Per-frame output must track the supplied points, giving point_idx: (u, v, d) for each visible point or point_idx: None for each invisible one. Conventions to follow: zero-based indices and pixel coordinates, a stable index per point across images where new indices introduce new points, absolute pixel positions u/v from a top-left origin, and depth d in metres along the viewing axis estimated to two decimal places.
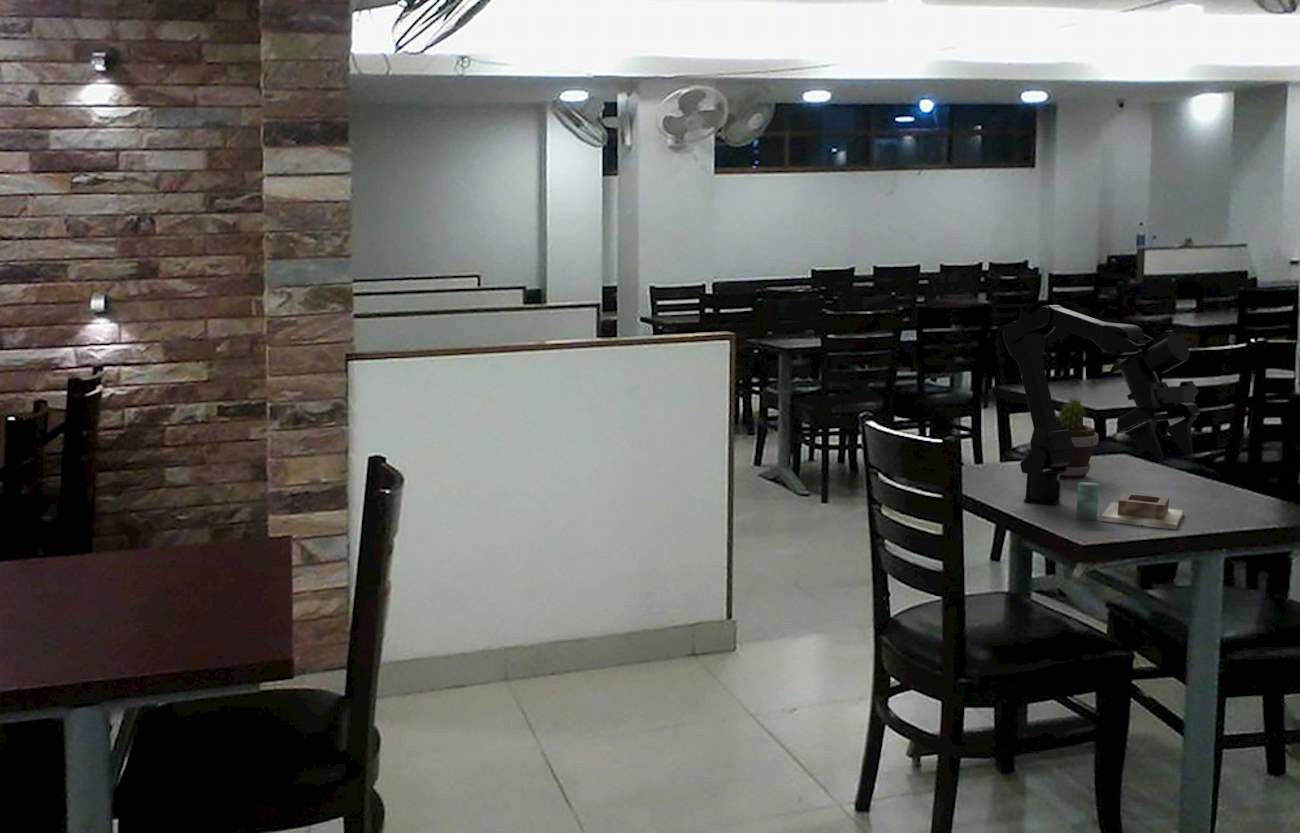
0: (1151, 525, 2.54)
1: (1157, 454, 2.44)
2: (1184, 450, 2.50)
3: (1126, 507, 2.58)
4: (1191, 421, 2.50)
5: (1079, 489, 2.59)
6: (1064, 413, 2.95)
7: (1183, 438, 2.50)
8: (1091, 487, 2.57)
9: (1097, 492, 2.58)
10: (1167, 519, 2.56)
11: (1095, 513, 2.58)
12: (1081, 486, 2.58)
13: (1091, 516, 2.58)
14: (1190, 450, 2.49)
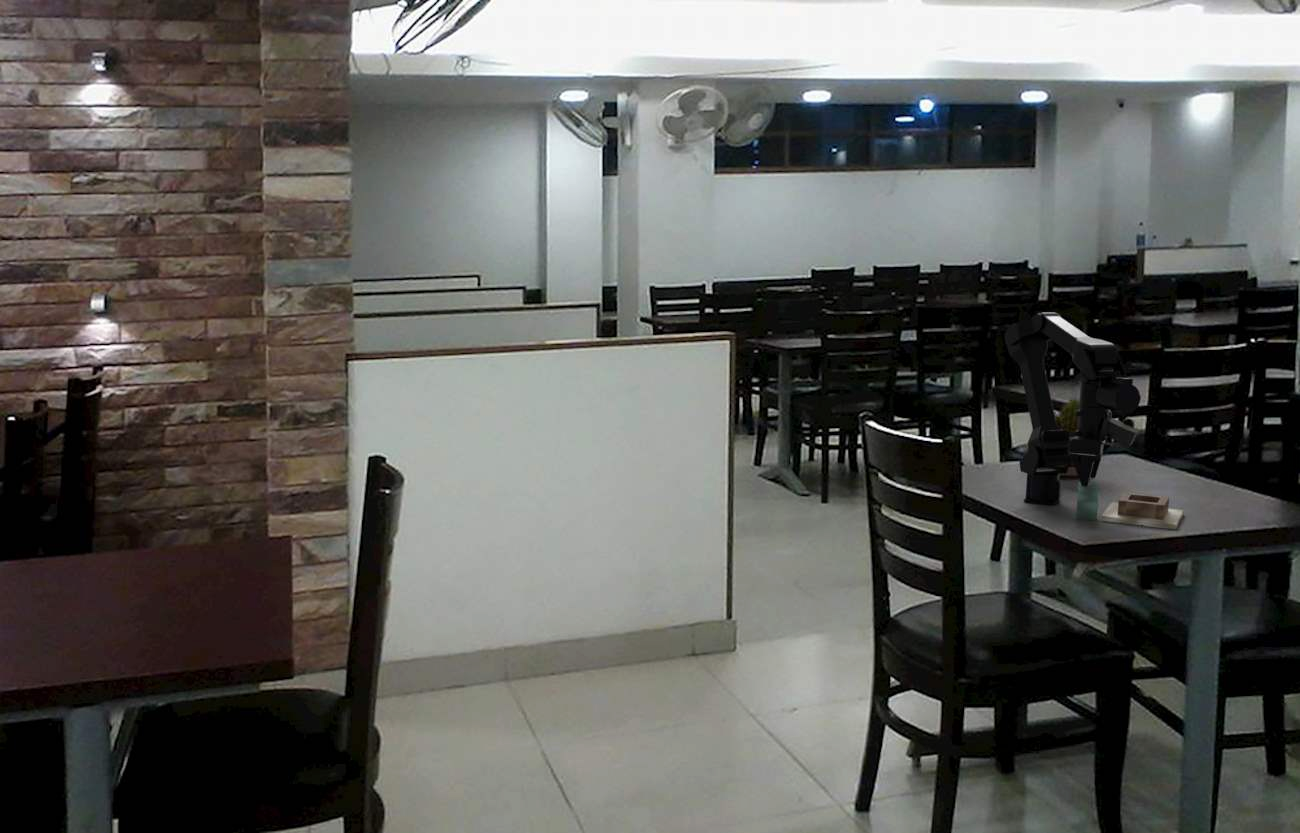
0: (1151, 525, 2.54)
1: (1084, 481, 2.55)
2: None
3: (1126, 507, 2.58)
4: None
5: (1079, 489, 2.59)
6: (1064, 413, 2.95)
7: (1093, 461, 2.63)
8: (1091, 487, 2.57)
9: (1097, 492, 2.58)
10: (1167, 519, 2.56)
11: (1095, 513, 2.58)
12: (1081, 486, 2.58)
13: (1091, 516, 2.58)
14: (1095, 474, 2.63)
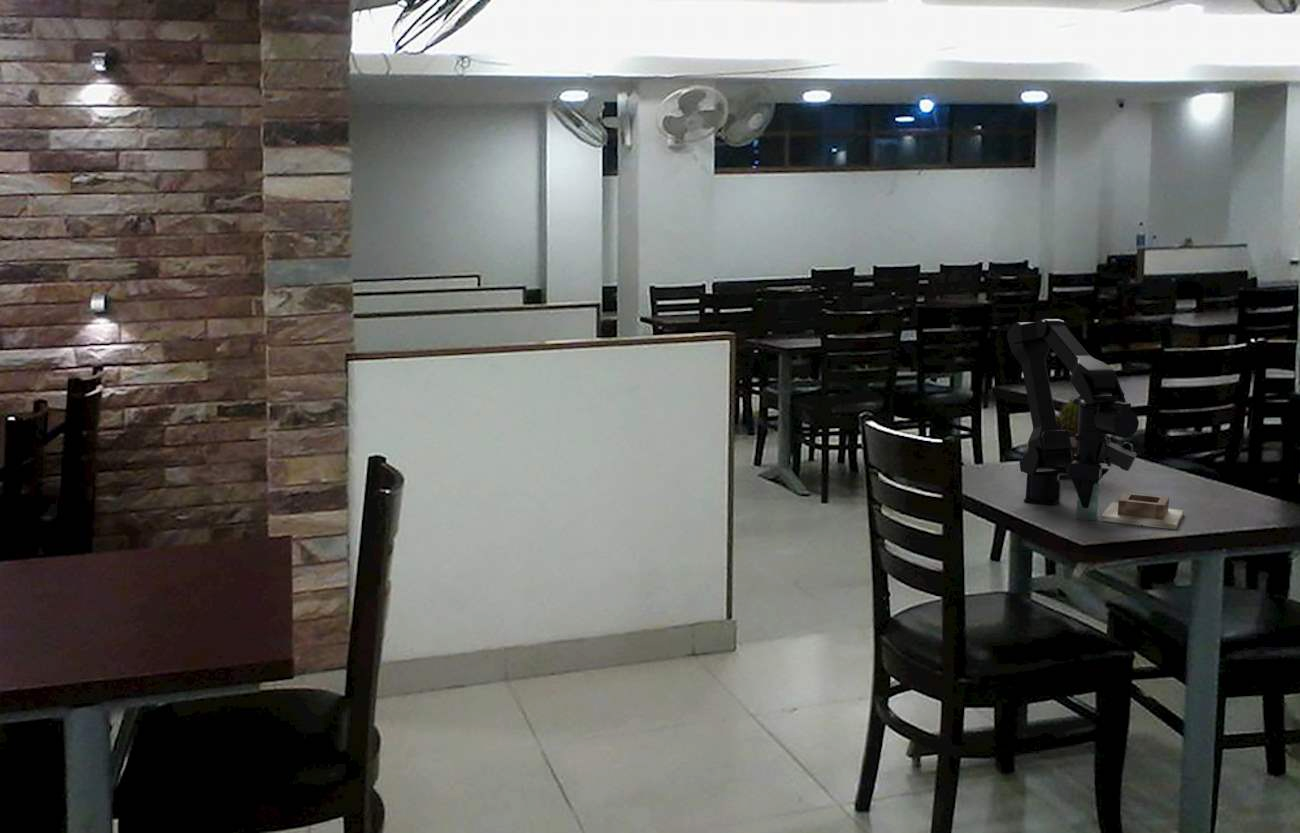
0: (1151, 525, 2.54)
1: (1085, 502, 2.57)
2: None
3: (1126, 507, 2.58)
4: None
5: None
6: (1064, 413, 2.95)
7: None
8: None
9: (1097, 492, 2.58)
10: (1167, 519, 2.56)
11: (1095, 513, 2.58)
12: None
13: (1091, 516, 2.58)
14: None
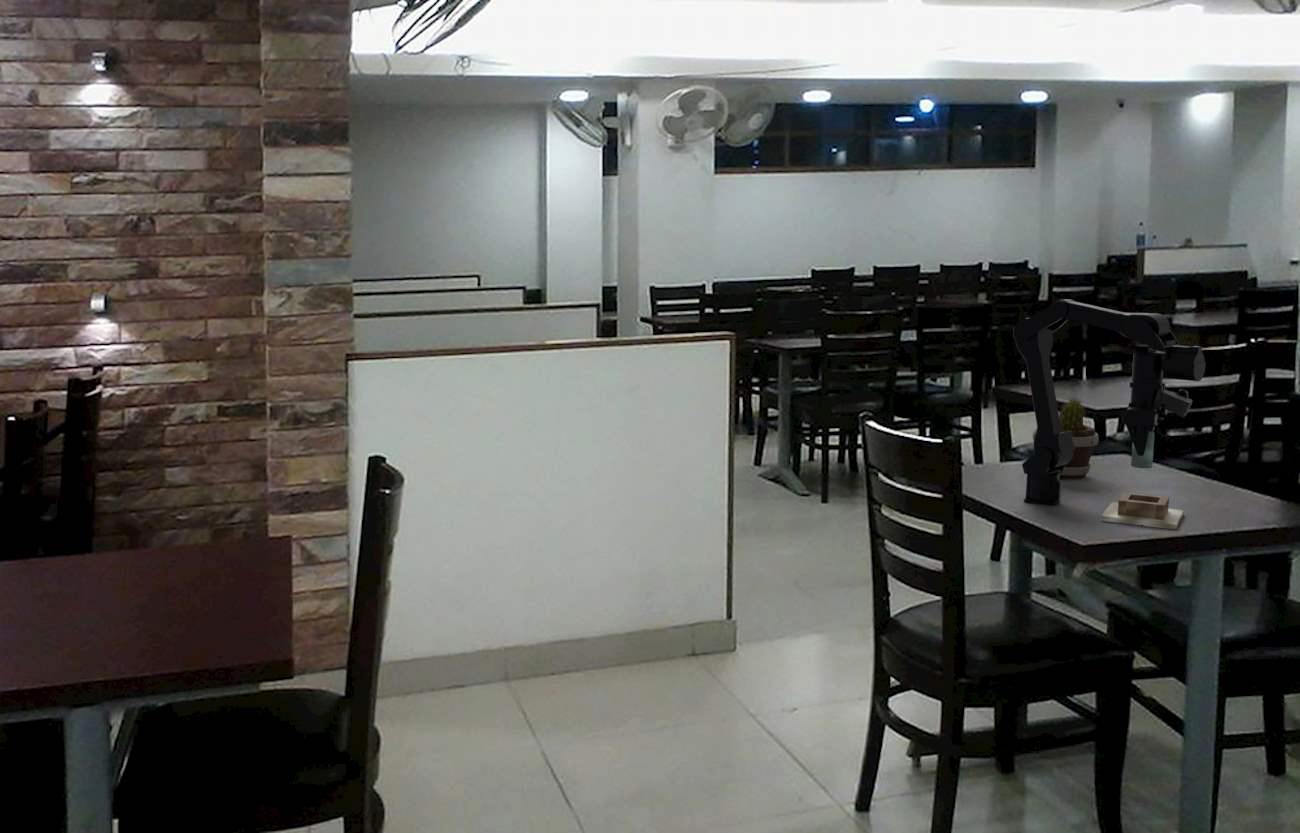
0: (1151, 525, 2.54)
1: (1140, 450, 2.56)
2: None
3: (1126, 507, 2.58)
4: None
5: None
6: (1064, 413, 2.95)
7: None
8: None
9: (1152, 440, 2.56)
10: (1167, 519, 2.56)
11: (1150, 461, 2.57)
12: None
13: (1146, 464, 2.57)
14: None
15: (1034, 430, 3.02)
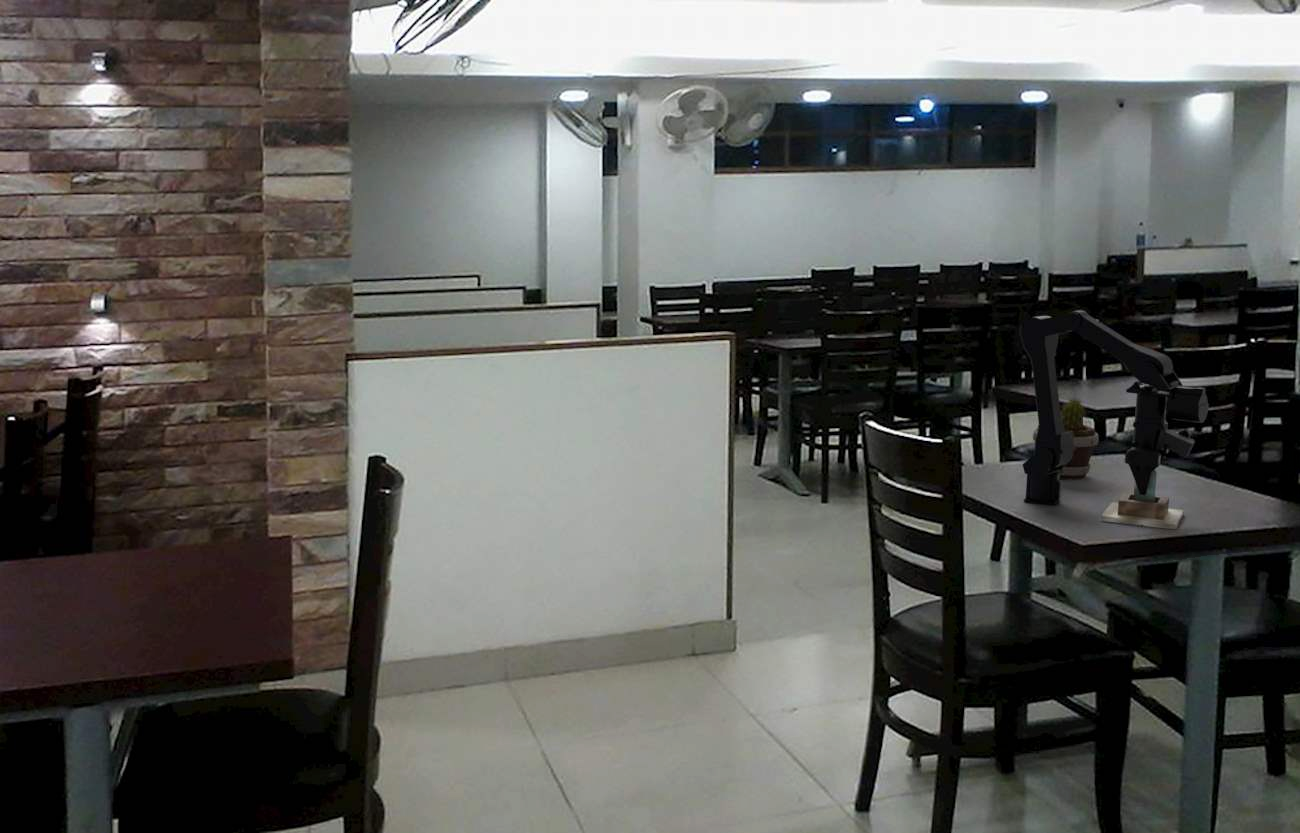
0: (1151, 525, 2.54)
1: (1143, 489, 2.58)
2: None
3: (1126, 507, 2.58)
4: None
5: None
6: (1064, 413, 2.95)
7: None
8: None
9: (1155, 479, 2.58)
10: (1167, 519, 2.56)
11: (1152, 500, 2.59)
12: None
13: None
14: None
15: (1034, 430, 3.02)
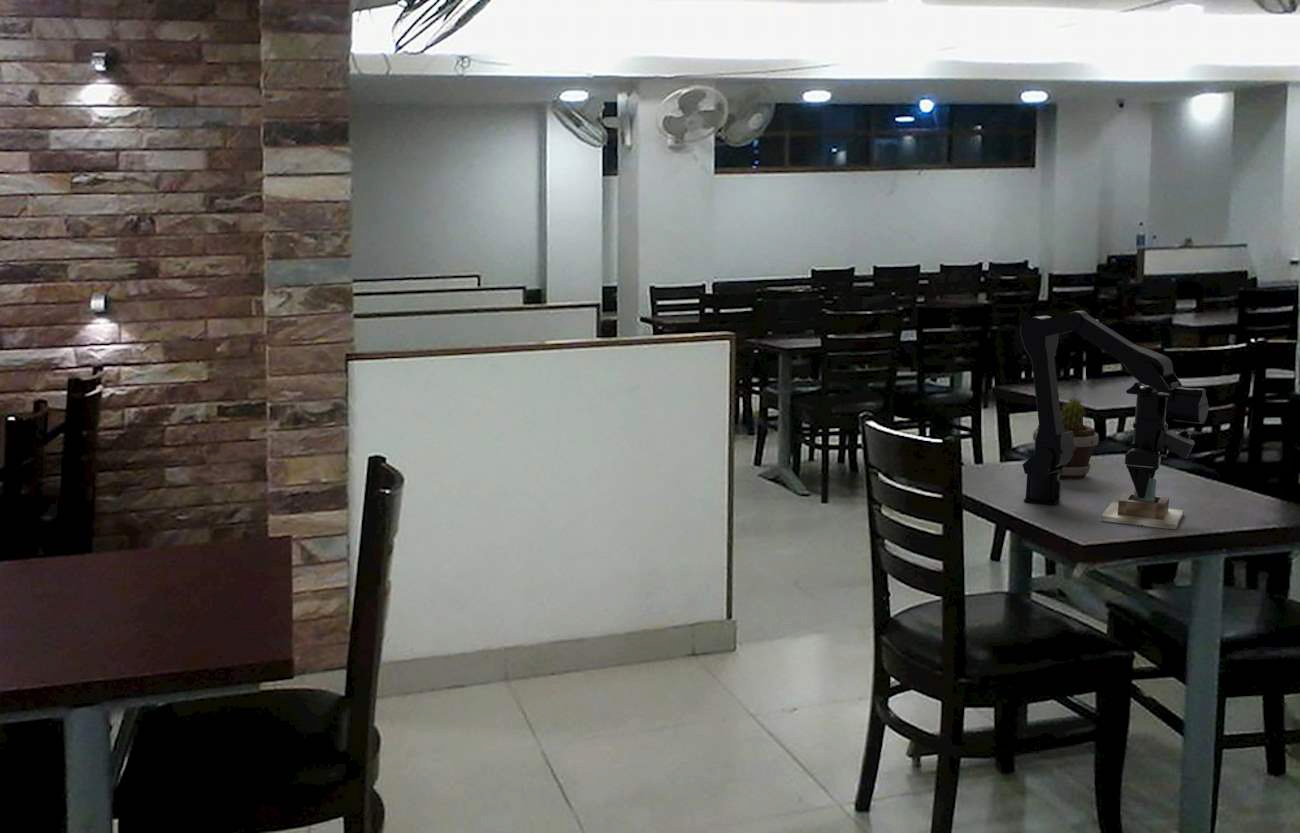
0: (1151, 525, 2.54)
1: (1141, 492, 2.56)
2: None
3: (1126, 507, 2.58)
4: None
5: None
6: (1064, 413, 2.95)
7: None
8: None
9: (1154, 487, 2.58)
10: (1167, 519, 2.56)
11: None
12: None
13: None
14: None
15: (1034, 430, 3.02)
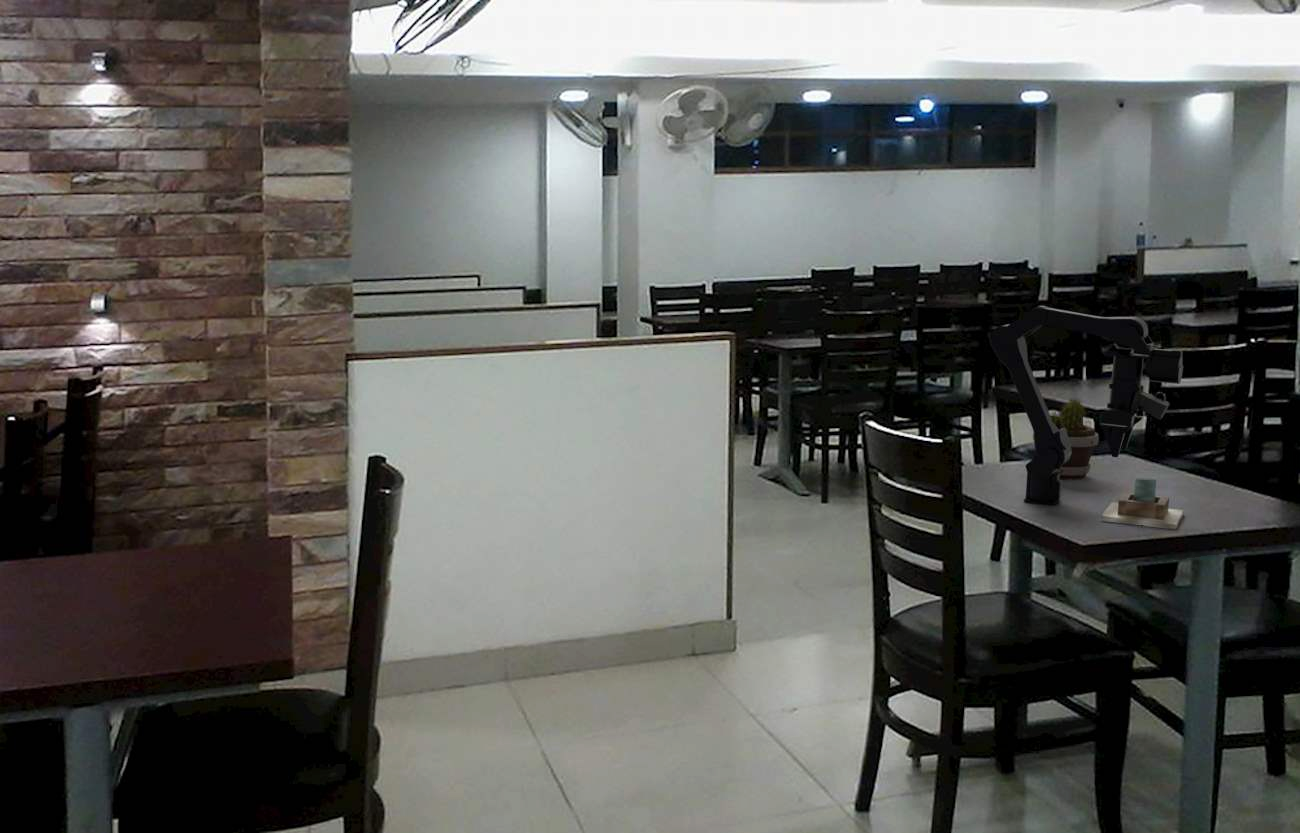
0: (1151, 525, 2.54)
1: (1115, 451, 2.61)
2: None
3: (1126, 507, 2.58)
4: None
5: (1136, 484, 2.59)
6: (1064, 413, 2.95)
7: (1124, 433, 2.69)
8: (1149, 482, 2.58)
9: (1154, 487, 2.58)
10: (1167, 519, 2.56)
11: None
12: (1138, 481, 2.59)
13: None
14: (1125, 446, 2.69)
15: None
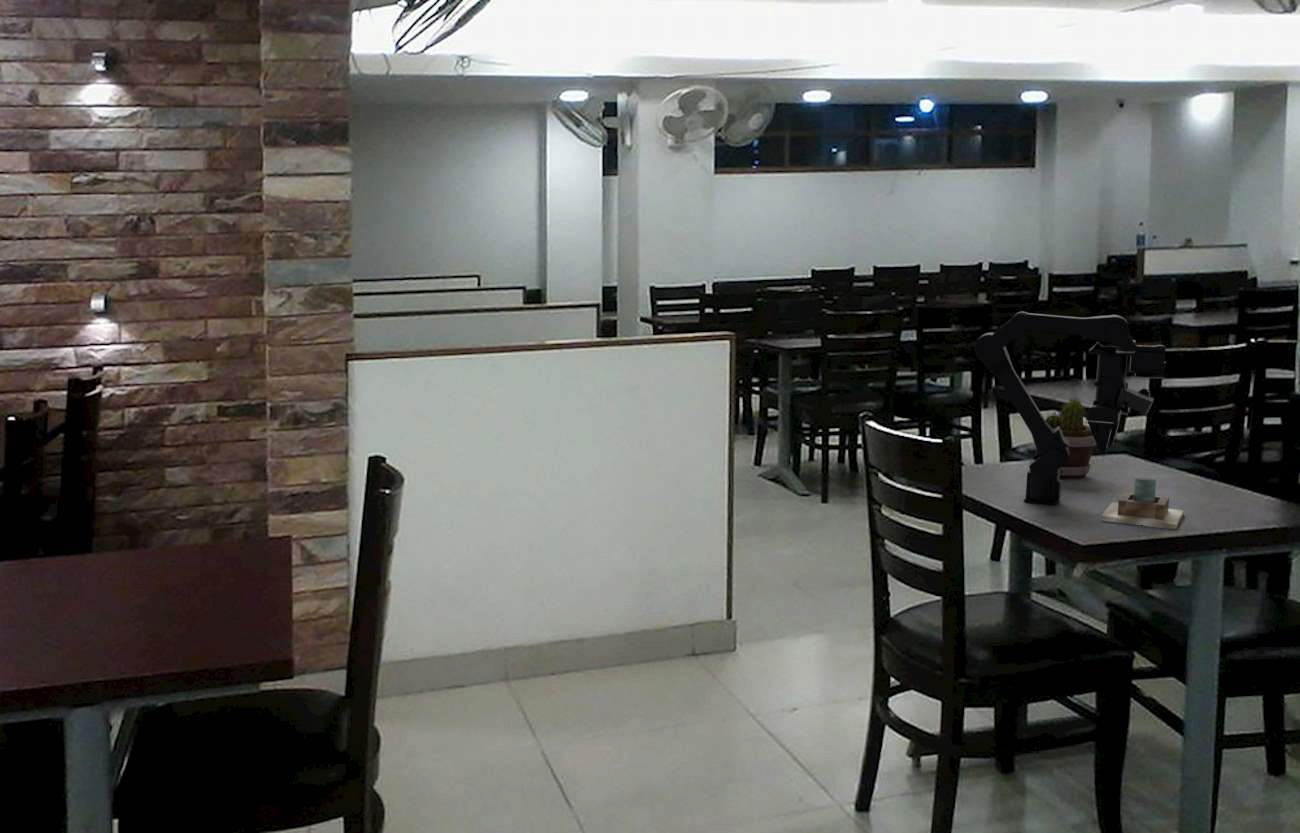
0: (1151, 525, 2.54)
1: (1102, 448, 2.65)
2: None
3: (1126, 507, 2.58)
4: None
5: (1136, 484, 2.59)
6: (1064, 413, 2.95)
7: (1110, 430, 2.73)
8: (1148, 482, 2.58)
9: (1154, 487, 2.58)
10: (1167, 519, 2.56)
11: None
12: (1138, 481, 2.59)
13: None
14: (1112, 443, 2.73)
15: None
